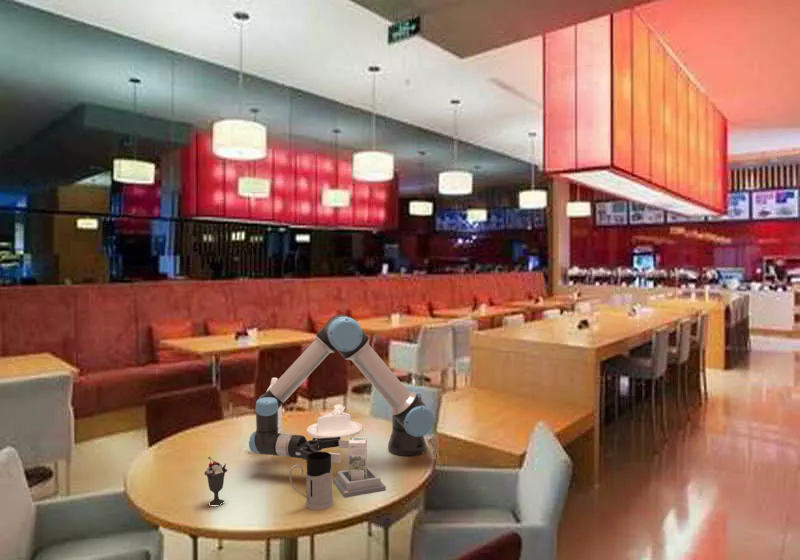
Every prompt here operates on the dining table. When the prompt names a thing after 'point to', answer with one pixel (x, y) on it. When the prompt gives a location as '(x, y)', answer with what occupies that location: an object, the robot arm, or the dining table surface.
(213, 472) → the sundae
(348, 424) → the dish
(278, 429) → the water bottle
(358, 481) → the box holder
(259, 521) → the dining table surface
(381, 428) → the dining table surface
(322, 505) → the glass holder
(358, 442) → the syrup box
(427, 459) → the dining table surface
